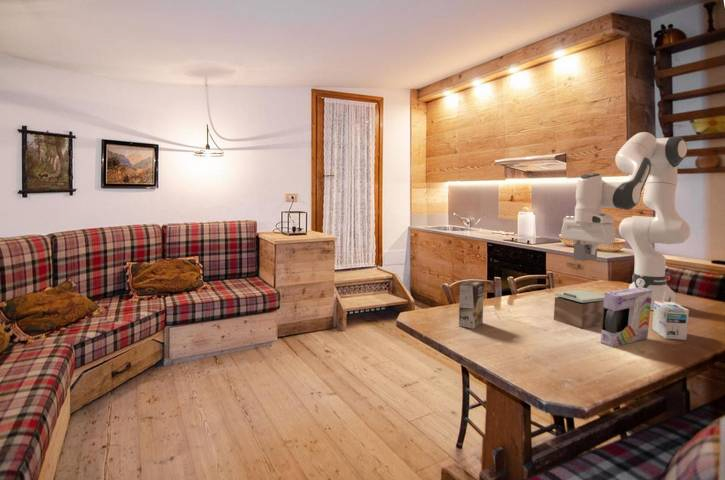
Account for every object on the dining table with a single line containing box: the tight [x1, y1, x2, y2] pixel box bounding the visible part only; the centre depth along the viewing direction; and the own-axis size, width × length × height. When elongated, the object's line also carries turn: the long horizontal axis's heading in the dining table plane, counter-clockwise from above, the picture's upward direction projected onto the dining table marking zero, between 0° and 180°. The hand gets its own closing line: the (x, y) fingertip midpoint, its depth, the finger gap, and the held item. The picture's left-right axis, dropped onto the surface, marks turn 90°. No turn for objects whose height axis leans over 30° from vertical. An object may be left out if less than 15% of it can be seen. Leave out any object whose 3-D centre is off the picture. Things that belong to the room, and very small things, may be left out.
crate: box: [553, 296, 604, 329], centre depth 167 cm, size 16×12×9 cm
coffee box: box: [458, 280, 485, 330], centre depth 162 cm, size 9×6×16 cm
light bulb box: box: [651, 301, 690, 341], centre depth 152 cm, size 11×7×11 cm, turn 168°
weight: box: [572, 242, 598, 262], centre depth 164 cm, size 8×4×6 cm, turn 116°
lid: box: [554, 289, 604, 303], centre depth 166 cm, size 16×12×2 cm
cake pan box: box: [600, 287, 652, 348], centre depth 144 cm, size 19×5×18 cm, turn 114°
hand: (585, 253), depth 164 cm, fingers closed on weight, 4 cm apart
